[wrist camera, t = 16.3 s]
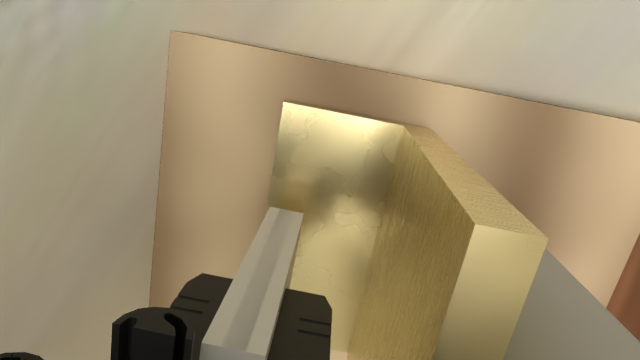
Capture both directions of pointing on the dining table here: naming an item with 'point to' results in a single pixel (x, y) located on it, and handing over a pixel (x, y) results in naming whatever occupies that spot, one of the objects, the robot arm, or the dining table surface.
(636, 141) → the shelf
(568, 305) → the beverage can
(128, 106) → the dining table surface
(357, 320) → the bookend
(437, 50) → the dining table surface
